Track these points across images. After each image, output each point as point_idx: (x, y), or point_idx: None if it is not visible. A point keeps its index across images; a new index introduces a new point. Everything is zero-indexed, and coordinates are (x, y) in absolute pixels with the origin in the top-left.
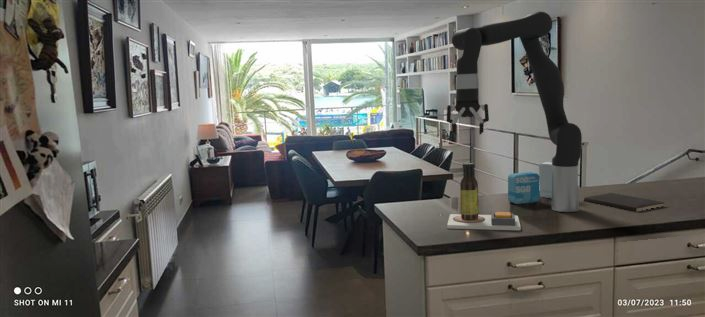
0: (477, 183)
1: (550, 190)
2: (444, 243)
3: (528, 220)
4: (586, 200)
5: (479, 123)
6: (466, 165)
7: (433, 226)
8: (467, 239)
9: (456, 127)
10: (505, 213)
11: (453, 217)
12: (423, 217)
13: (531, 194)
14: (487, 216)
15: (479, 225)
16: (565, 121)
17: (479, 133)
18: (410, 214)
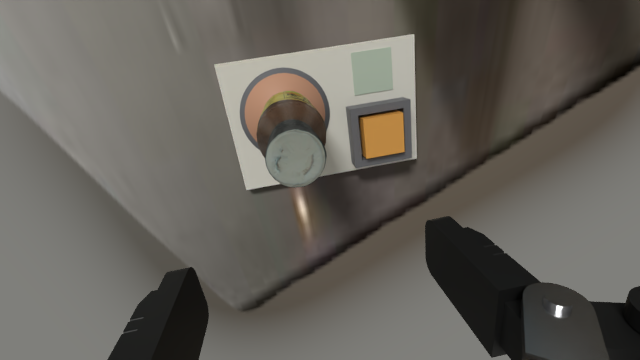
0: (325, 134)
1: None
2: (275, 286)
3: (436, 47)
4: None
5: (498, 309)
6: (291, 185)
7: (207, 177)
8: (311, 250)
9: (167, 324)
10: (391, 133)
11: (238, 107)
12: (134, 86)
13: None
14: (331, 68)
15: (324, 172)
16: None
17: (430, 272)
18: (68, 53)
